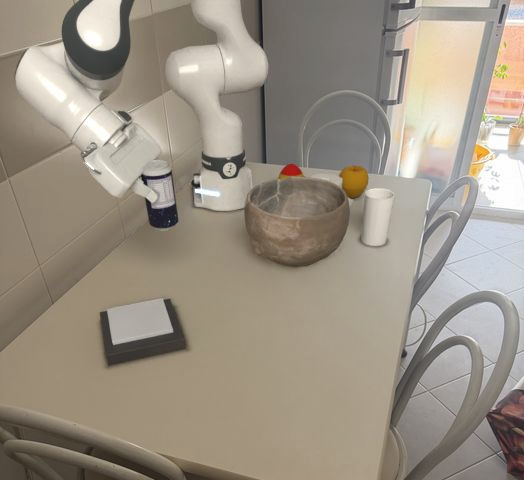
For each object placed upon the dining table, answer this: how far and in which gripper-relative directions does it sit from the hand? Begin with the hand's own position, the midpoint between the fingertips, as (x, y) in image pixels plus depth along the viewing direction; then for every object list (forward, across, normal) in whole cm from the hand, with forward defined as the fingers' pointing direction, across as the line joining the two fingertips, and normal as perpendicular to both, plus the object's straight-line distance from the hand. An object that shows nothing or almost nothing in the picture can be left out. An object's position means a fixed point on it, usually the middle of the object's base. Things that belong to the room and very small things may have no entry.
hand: (162, 191), depth 92 cm
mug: (+46, +30, -15) cm, 56 cm away
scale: (+14, -16, +17) cm, 27 cm away
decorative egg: (+29, +51, +2) cm, 59 cm away
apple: (+41, +54, -11) cm, 69 cm away
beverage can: (+4, 0, +6) cm, 7 cm away
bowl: (+32, +19, -1) cm, 37 cm away
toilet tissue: (+37, +43, -6) cm, 57 cm away
